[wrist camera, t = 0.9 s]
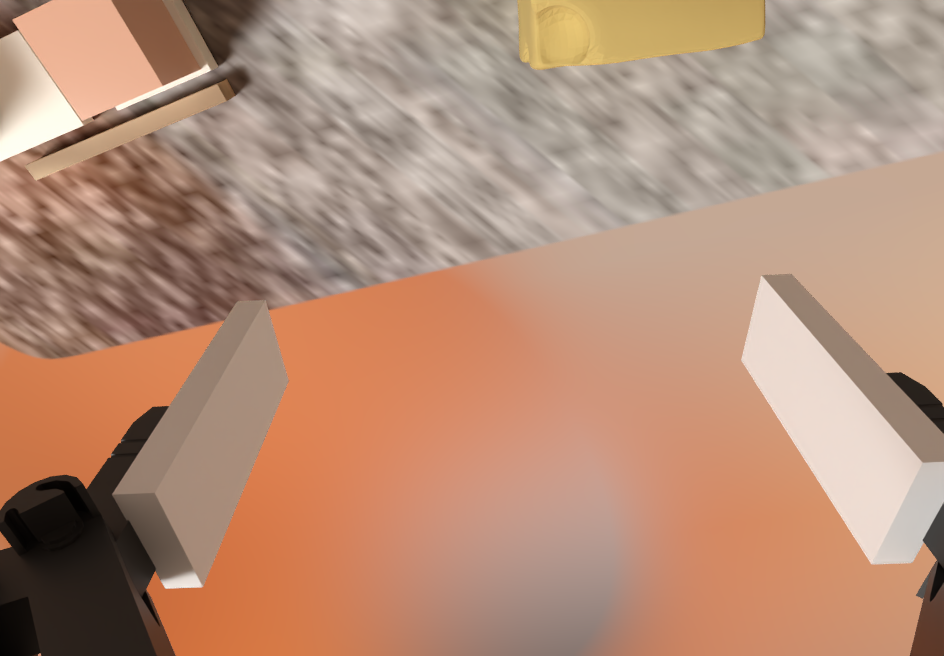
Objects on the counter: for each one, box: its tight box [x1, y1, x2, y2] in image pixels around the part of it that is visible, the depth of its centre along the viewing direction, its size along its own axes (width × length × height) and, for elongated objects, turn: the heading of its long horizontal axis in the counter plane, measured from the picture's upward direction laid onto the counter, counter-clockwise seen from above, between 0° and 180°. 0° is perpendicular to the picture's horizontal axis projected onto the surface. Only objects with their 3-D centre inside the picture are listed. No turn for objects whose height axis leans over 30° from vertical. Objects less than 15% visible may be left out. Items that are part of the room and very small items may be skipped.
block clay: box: [13, 0, 201, 121], centre depth 31 cm, size 5×5×5 cm
